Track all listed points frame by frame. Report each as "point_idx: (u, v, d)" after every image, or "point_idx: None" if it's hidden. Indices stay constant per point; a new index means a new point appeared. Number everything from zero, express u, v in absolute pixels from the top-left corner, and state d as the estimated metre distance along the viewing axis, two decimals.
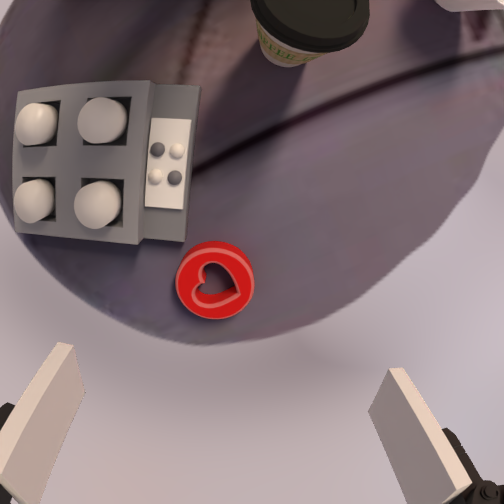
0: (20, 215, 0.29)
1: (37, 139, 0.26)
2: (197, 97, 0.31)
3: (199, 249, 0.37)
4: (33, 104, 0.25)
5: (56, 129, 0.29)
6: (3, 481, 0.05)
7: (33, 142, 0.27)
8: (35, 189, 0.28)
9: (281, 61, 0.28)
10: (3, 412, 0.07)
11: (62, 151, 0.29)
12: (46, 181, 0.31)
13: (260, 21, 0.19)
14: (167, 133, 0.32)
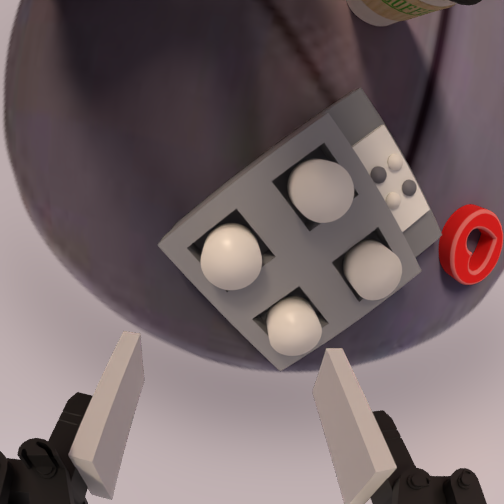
0: (292, 353, 0.28)
1: (259, 268, 0.25)
2: (368, 100, 0.25)
3: (456, 230, 0.30)
4: (214, 239, 0.24)
5: (257, 241, 0.27)
6: (88, 470, 0.06)
7: (255, 276, 0.25)
8: (297, 315, 0.27)
9: (406, 19, 0.20)
10: (74, 402, 0.09)
11: (288, 256, 0.27)
12: (288, 298, 0.29)
13: None
14: (374, 153, 0.26)
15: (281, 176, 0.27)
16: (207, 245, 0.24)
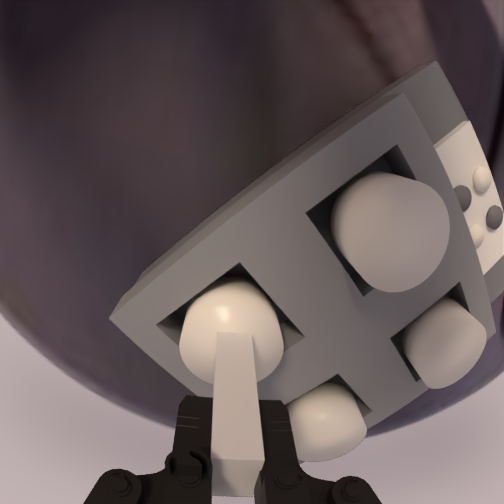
0: (320, 459, 0.17)
1: (278, 358, 0.14)
2: (446, 81, 0.14)
3: None
4: (201, 316, 0.13)
5: (274, 306, 0.16)
6: (225, 470, 0.07)
7: (271, 368, 0.15)
8: (335, 421, 0.15)
9: None
10: (188, 406, 0.10)
11: (326, 335, 0.16)
12: (319, 389, 0.18)
13: None
14: (458, 164, 0.15)
15: None
16: (189, 325, 0.13)
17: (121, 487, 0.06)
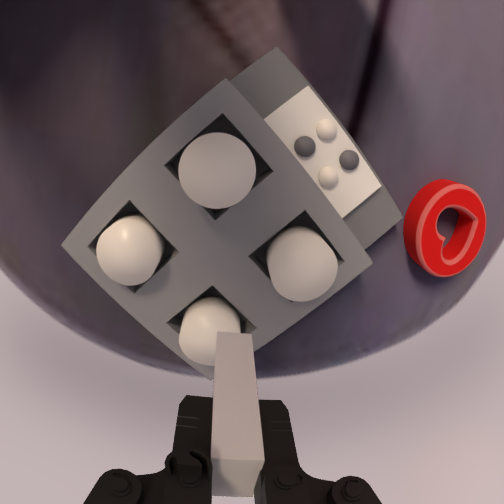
0: (210, 362, 0.24)
1: (154, 261, 0.22)
2: (287, 59, 0.21)
3: (422, 211, 0.25)
4: (106, 231, 0.21)
5: None
6: (225, 470, 0.07)
7: (152, 269, 0.22)
8: (206, 320, 0.23)
9: None
10: (187, 406, 0.10)
11: (193, 250, 0.23)
12: (203, 300, 0.25)
13: None
14: (298, 120, 0.22)
15: None
16: (100, 238, 0.21)
17: (121, 487, 0.06)
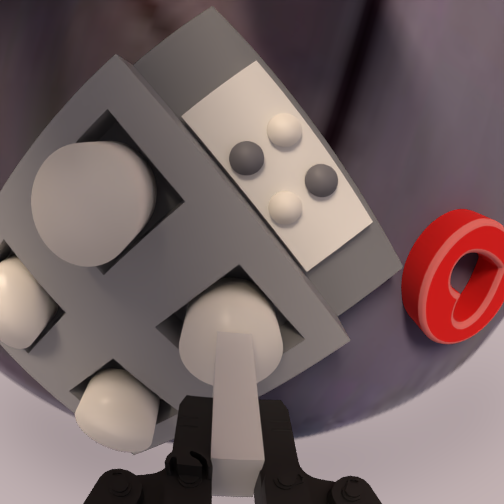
0: (119, 448, 0.15)
1: (32, 324, 0.13)
2: (227, 24, 0.12)
3: (431, 258, 0.17)
4: None
5: None
6: (225, 470, 0.07)
7: (32, 334, 0.13)
8: (101, 407, 0.14)
9: None
10: (187, 405, 0.10)
11: (82, 313, 0.14)
12: (107, 372, 0.16)
13: None
14: (236, 115, 0.14)
15: None
16: None
17: (121, 487, 0.06)
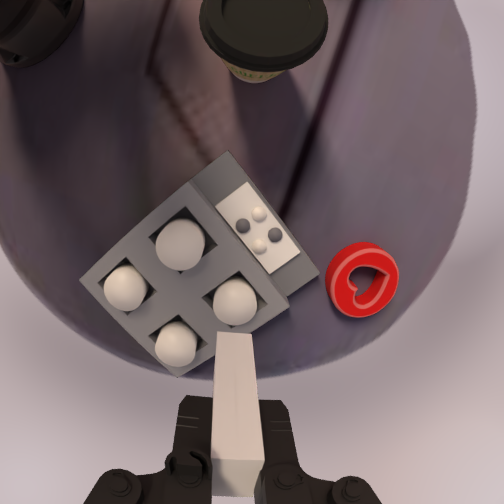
0: (175, 364, 0.35)
1: (141, 297, 0.33)
2: (234, 160, 0.33)
3: (335, 269, 0.37)
4: (110, 276, 0.32)
5: None
6: (225, 470, 0.07)
7: (139, 302, 0.34)
8: (172, 337, 0.34)
9: None
10: (188, 405, 0.10)
11: (166, 291, 0.35)
12: (172, 322, 0.36)
13: (248, 68, 0.20)
14: (238, 207, 0.34)
15: None
16: (106, 280, 0.33)
17: (121, 487, 0.06)
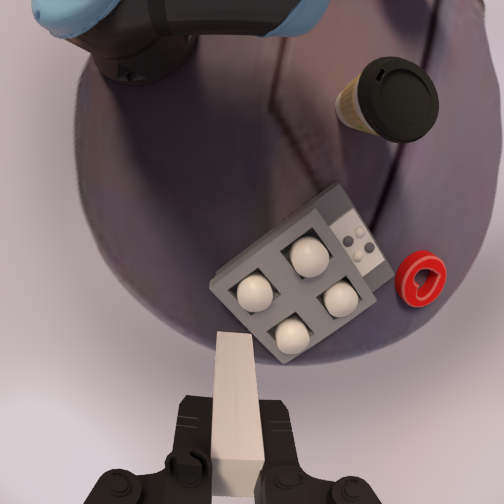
0: (291, 352, 0.45)
1: (271, 300, 0.43)
2: (344, 191, 0.42)
3: (406, 271, 0.47)
4: (246, 284, 0.42)
5: (269, 282, 0.45)
6: (225, 470, 0.07)
7: (268, 304, 0.43)
8: (294, 330, 0.44)
9: None
10: (187, 405, 0.10)
11: (289, 294, 0.44)
12: (289, 319, 0.46)
13: (389, 140, 0.29)
14: (346, 227, 0.43)
15: None
16: (241, 287, 0.42)
17: (121, 487, 0.06)
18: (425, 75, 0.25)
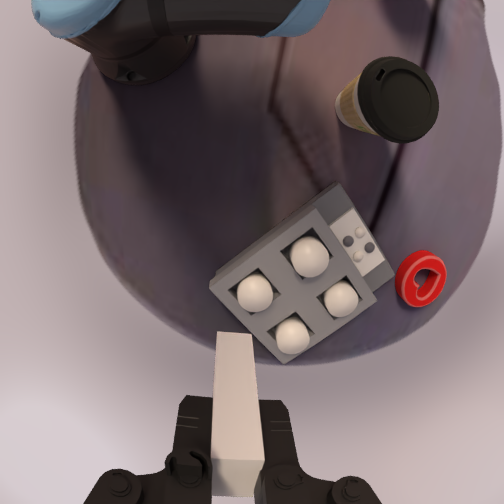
0: (291, 352, 0.45)
1: (271, 299, 0.43)
2: (344, 191, 0.42)
3: (406, 271, 0.47)
4: (246, 284, 0.42)
5: (269, 282, 0.45)
6: (225, 470, 0.07)
7: (268, 304, 0.43)
8: (294, 330, 0.44)
9: None
10: (188, 405, 0.10)
11: (289, 294, 0.44)
12: (289, 318, 0.46)
13: (390, 140, 0.29)
14: (346, 227, 0.43)
15: None
16: (241, 287, 0.42)
17: (121, 487, 0.06)
18: (425, 75, 0.25)
